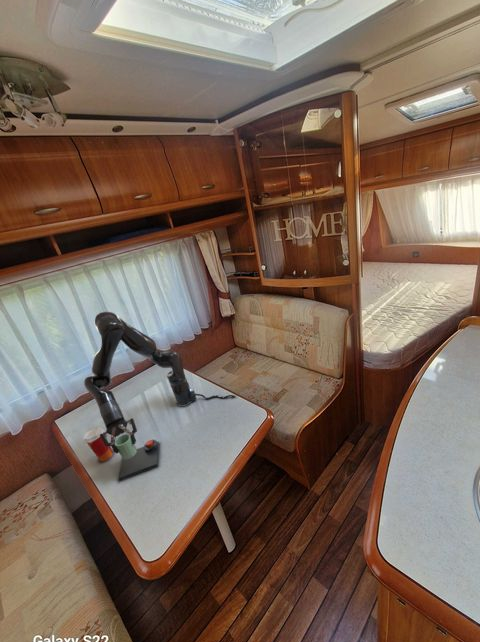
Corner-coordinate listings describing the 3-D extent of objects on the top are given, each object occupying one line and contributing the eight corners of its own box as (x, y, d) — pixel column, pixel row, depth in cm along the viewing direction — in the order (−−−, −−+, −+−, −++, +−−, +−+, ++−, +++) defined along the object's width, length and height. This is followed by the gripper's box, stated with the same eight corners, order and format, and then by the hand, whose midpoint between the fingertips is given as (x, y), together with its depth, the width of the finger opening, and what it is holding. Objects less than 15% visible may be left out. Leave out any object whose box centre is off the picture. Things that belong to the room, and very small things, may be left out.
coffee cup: (102, 451, 133) (88, 428, 127) (118, 447, 133) (105, 424, 127) (93, 465, 126) (78, 442, 120) (111, 461, 126) (97, 438, 120)
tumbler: (137, 445, 121) (130, 432, 118) (136, 456, 116) (128, 442, 112) (123, 451, 120) (116, 437, 117) (120, 461, 114) (113, 448, 111)
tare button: (153, 441, 128) (152, 439, 127) (153, 446, 125) (152, 443, 125) (147, 444, 127) (146, 441, 127) (146, 448, 125) (145, 445, 124)
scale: (159, 443, 131) (156, 437, 129) (157, 466, 118) (155, 460, 117) (125, 455, 128) (122, 450, 126) (119, 481, 115) (116, 475, 113)
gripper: (129, 407, 126) (144, 440, 121) (95, 423, 119) (109, 458, 114) (127, 403, 119) (142, 437, 115) (91, 420, 113) (105, 457, 108)
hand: (126, 448), depth 115 cm, fingers closed on tumbler, 6 cm apart
